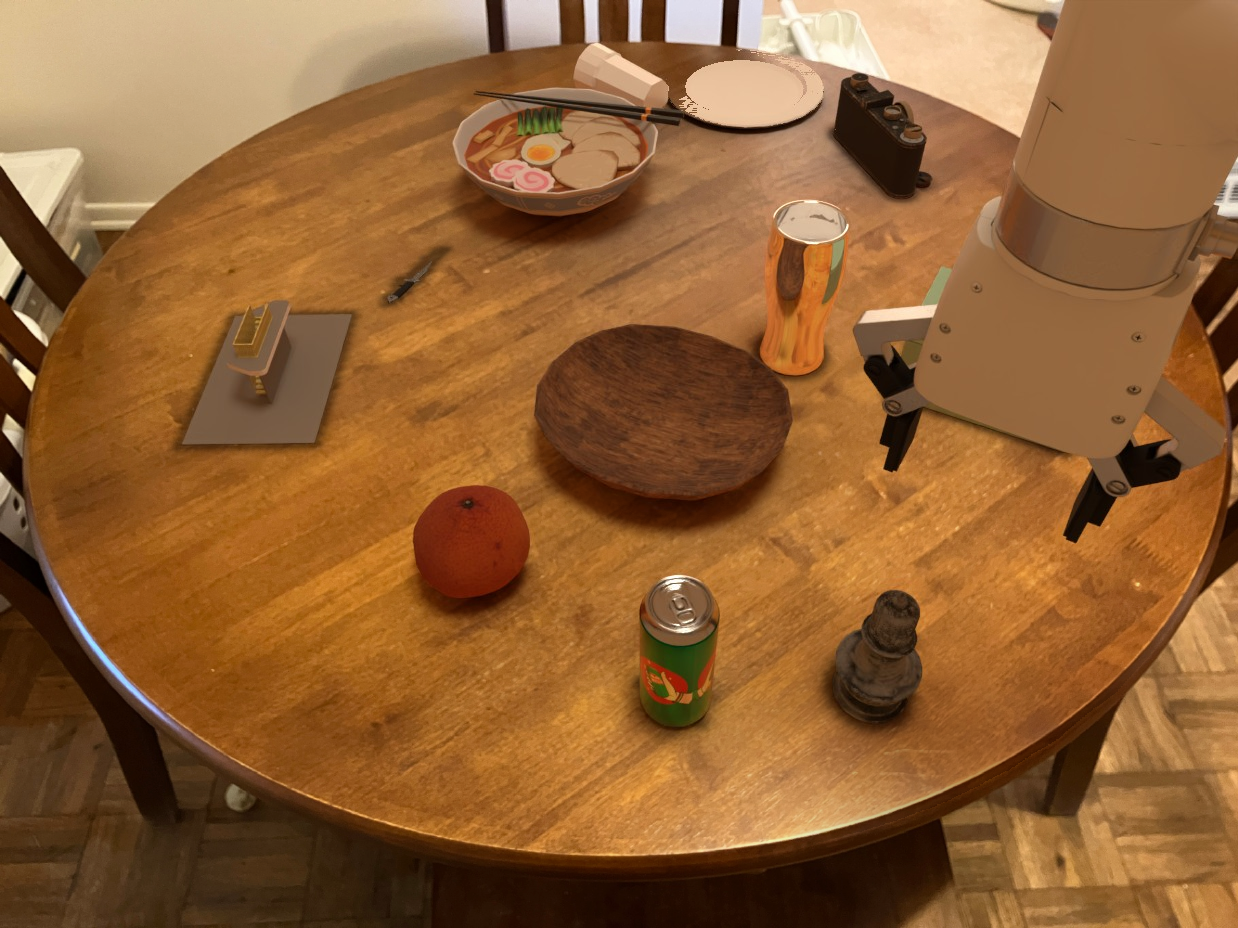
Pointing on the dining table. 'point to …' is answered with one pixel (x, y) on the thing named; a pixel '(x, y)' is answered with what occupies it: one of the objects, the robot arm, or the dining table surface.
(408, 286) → the knife
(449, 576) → the fruit
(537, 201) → the ramen bowl
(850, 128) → the camera
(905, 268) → the dining table surface
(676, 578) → the soda can
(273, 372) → the platform
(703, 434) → the bowl
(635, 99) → the cup
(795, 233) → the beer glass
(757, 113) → the plate
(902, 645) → the chess piece
